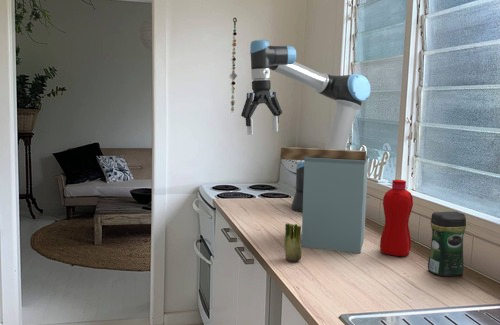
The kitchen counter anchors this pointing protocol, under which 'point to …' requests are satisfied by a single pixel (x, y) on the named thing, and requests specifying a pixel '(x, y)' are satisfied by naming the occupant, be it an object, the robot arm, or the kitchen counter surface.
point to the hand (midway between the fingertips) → (263, 133)
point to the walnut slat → (321, 154)
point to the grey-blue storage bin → (334, 204)
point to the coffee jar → (447, 243)
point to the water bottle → (396, 220)
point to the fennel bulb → (292, 242)
